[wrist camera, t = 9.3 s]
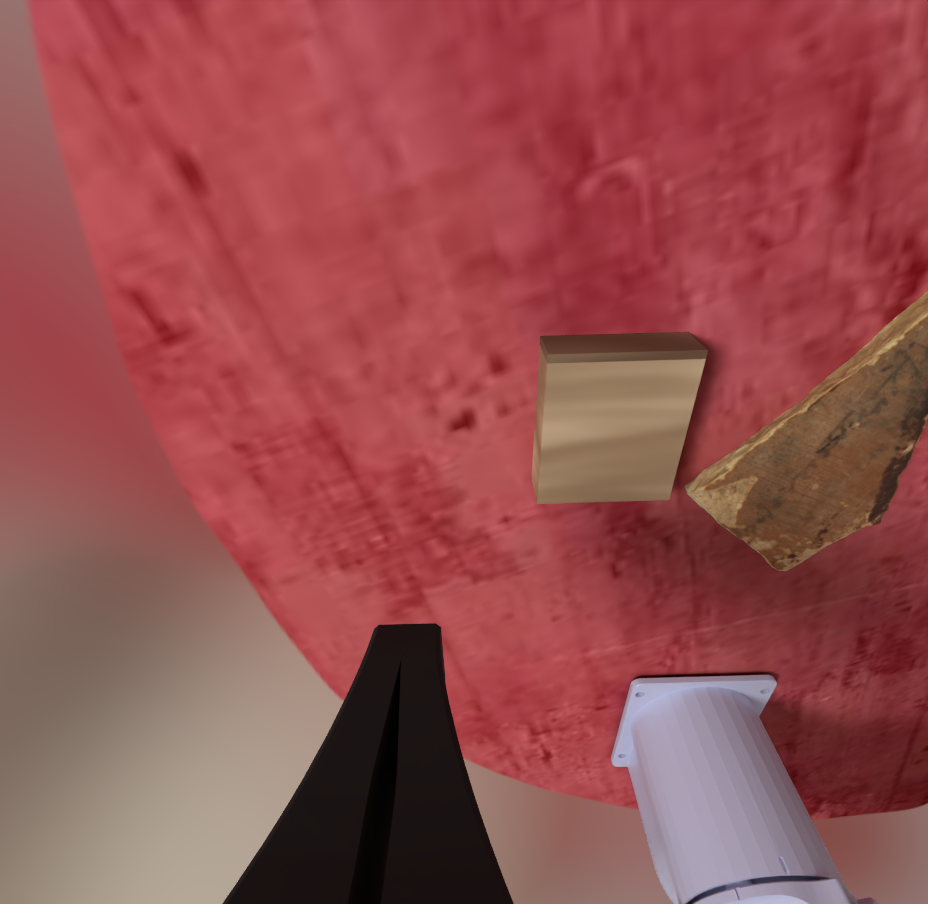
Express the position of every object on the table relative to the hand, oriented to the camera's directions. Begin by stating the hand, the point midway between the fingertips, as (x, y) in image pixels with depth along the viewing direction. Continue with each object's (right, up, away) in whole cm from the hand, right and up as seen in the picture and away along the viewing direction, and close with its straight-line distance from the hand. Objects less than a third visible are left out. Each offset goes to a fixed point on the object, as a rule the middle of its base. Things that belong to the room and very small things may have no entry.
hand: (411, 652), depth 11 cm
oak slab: (+6, +3, +8) cm, 11 cm away
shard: (+14, +5, +9) cm, 17 cm away
